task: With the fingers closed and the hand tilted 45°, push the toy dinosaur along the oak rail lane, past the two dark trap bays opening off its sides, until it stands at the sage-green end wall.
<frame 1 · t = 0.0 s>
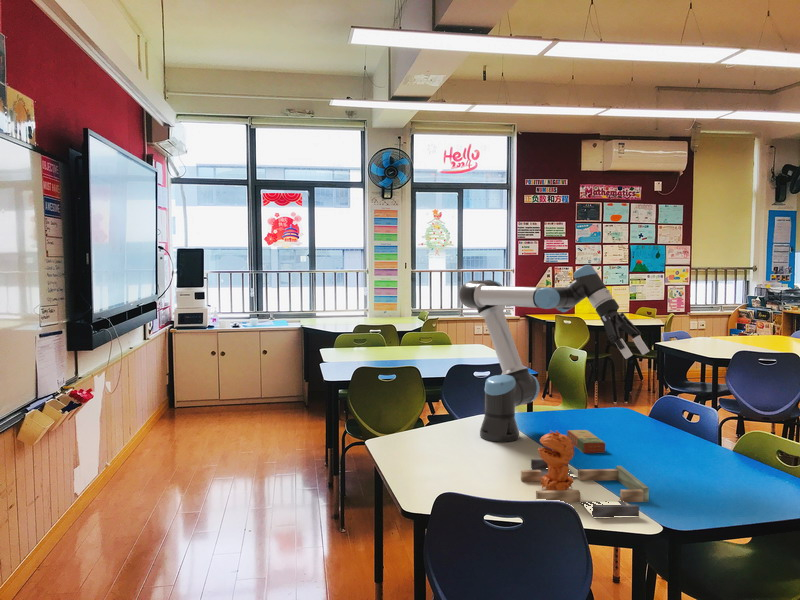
hand: (637, 355, 193), 36 cm above the table, tool tilted 35°, fingers open, 13 cm apart
carton: (585, 447, 209), on the table
toy dinosaur: (555, 491, 166), on the table
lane: (578, 490, 166), on the table
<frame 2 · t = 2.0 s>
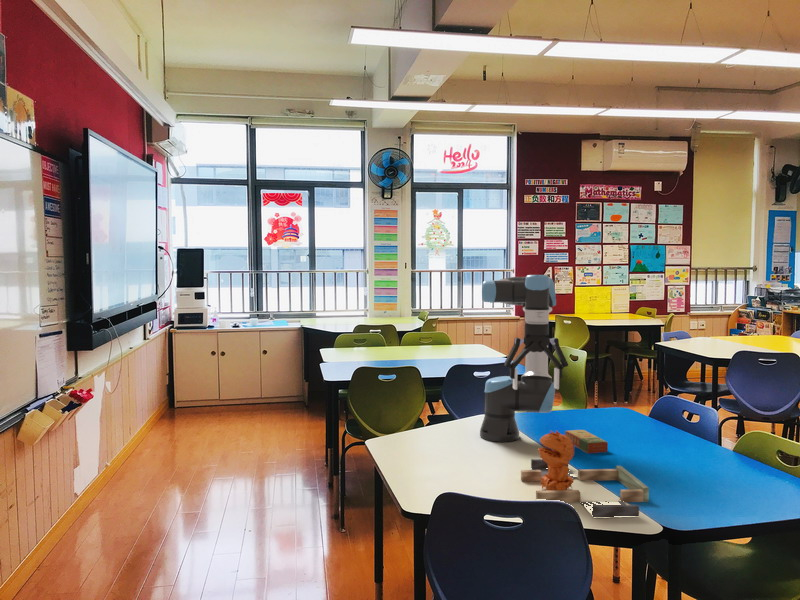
hand: (535, 388, 181), 27 cm above the table, tool pointing down, fingers open, 13 cm apart
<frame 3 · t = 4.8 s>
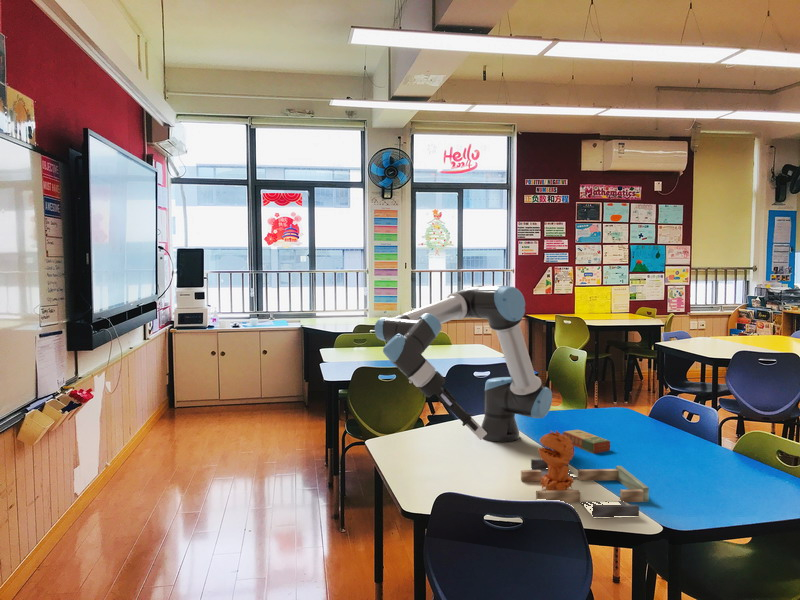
hand: (483, 436, 164), 16 cm above the table, tool tilted 45°, fingers closed
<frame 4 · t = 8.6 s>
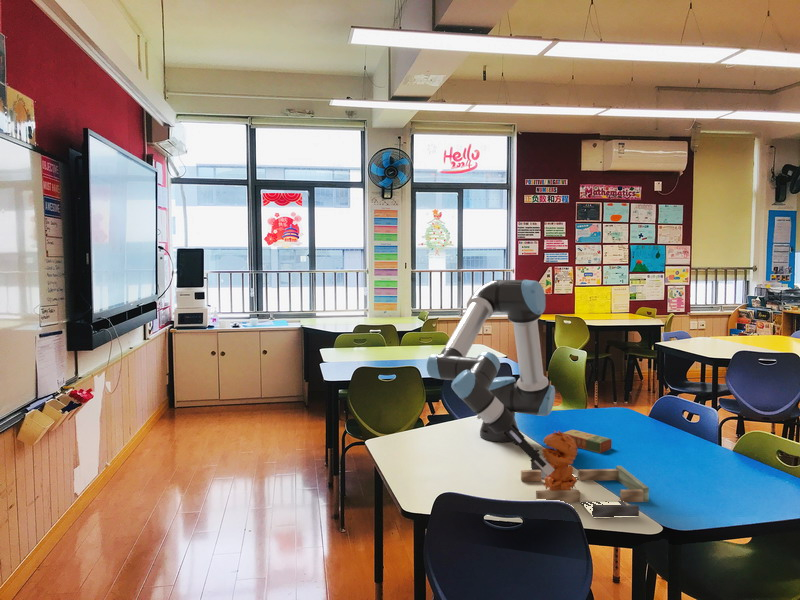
hand: (550, 472, 164), 6 cm above the table, tool tilted 45°, fingers closed
toy dinosaur: (558, 491, 166), on the table, touching gripper
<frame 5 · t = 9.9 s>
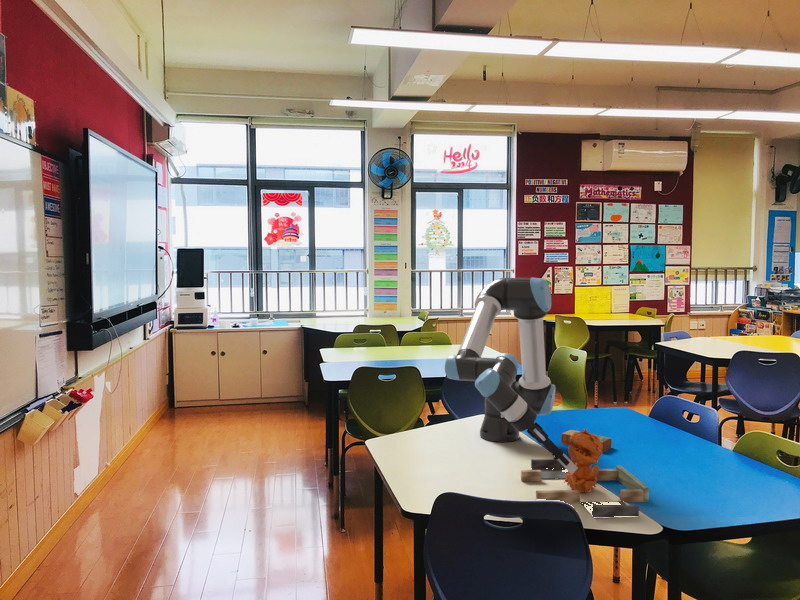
hand: (573, 470, 165), 6 cm above the table, tool tilted 45°, fingers closed
toy dinosaur: (578, 488, 166), on the table, touching gripper
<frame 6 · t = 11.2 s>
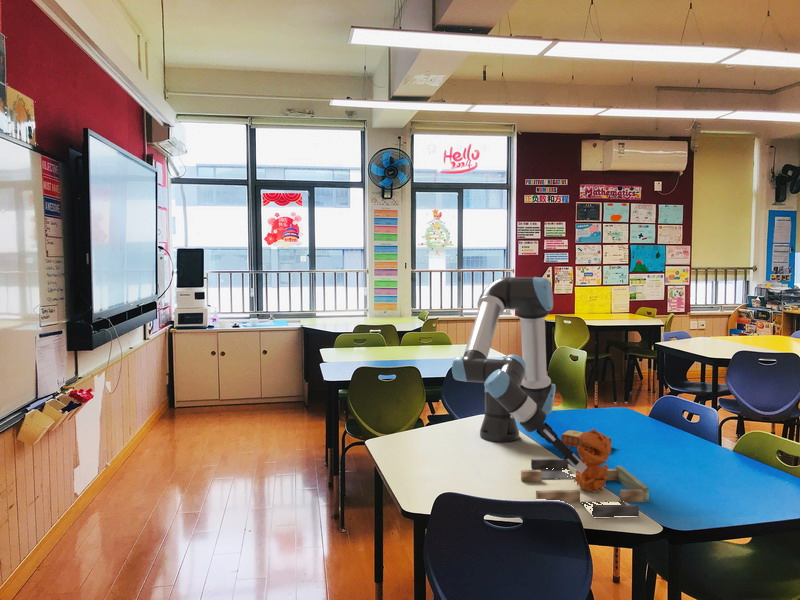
hand: (583, 469, 166), 6 cm above the table, tool tilted 45°, fingers closed
toy dinosaur: (588, 488, 167), on the table, touching gripper
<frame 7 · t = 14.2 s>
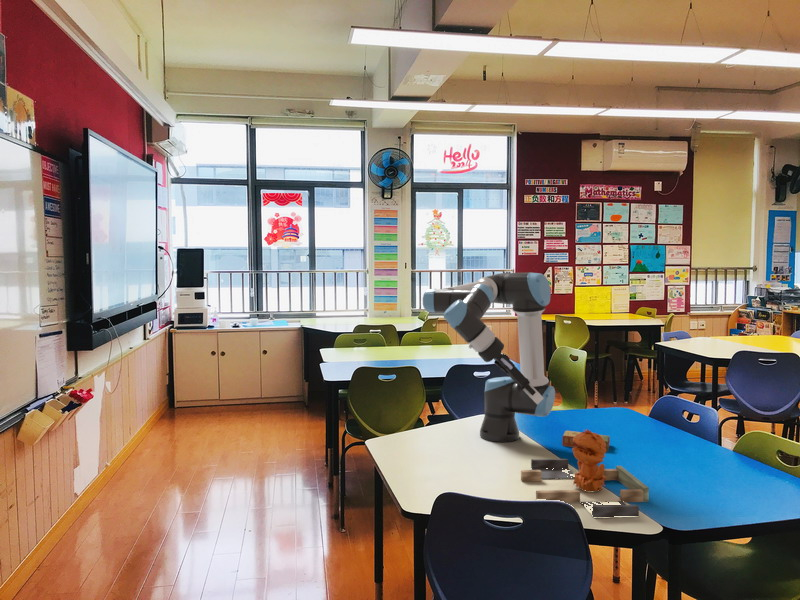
hand: (539, 400, 168), 26 cm above the table, tool tilted 45°, fingers closed
toy dinosaur: (588, 489, 167), on the table
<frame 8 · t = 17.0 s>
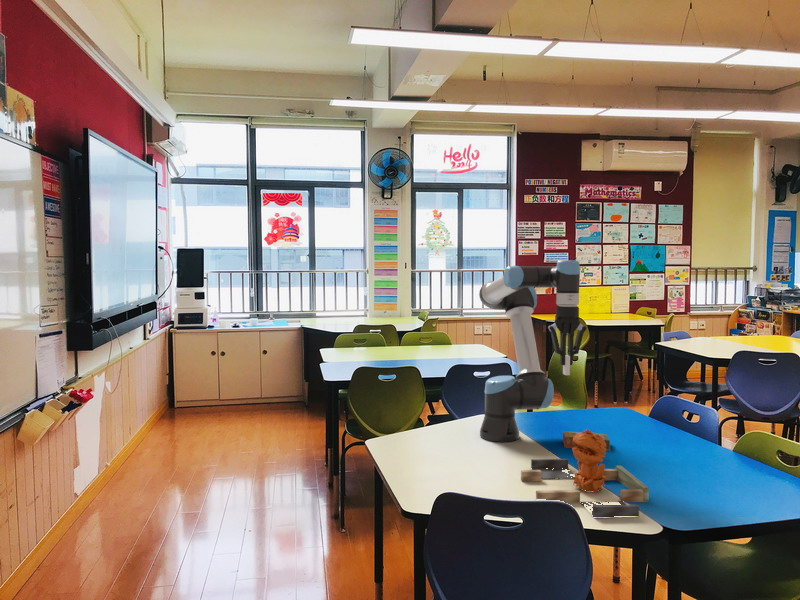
hand: (566, 374, 192), 29 cm above the table, tool pointing down, fingers closed
at the end: toy dinosaur inside the target area (4.7 cm from its centre), on the table; toy dinosaur moved 10.4 cm from its start; toy dinosaur tilted 0° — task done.
